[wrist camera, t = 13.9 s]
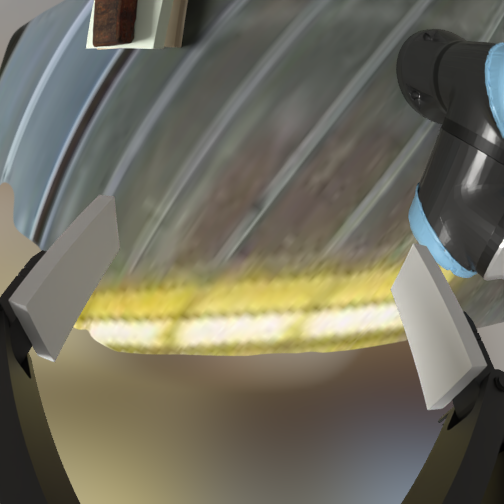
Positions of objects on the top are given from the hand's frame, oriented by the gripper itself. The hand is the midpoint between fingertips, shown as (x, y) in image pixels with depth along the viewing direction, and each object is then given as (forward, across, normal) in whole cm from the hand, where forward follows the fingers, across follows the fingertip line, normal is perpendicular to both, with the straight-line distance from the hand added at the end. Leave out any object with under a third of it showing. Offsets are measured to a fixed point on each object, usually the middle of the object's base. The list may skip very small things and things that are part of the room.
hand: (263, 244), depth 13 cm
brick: (+28, +20, -14) cm, 37 cm away
